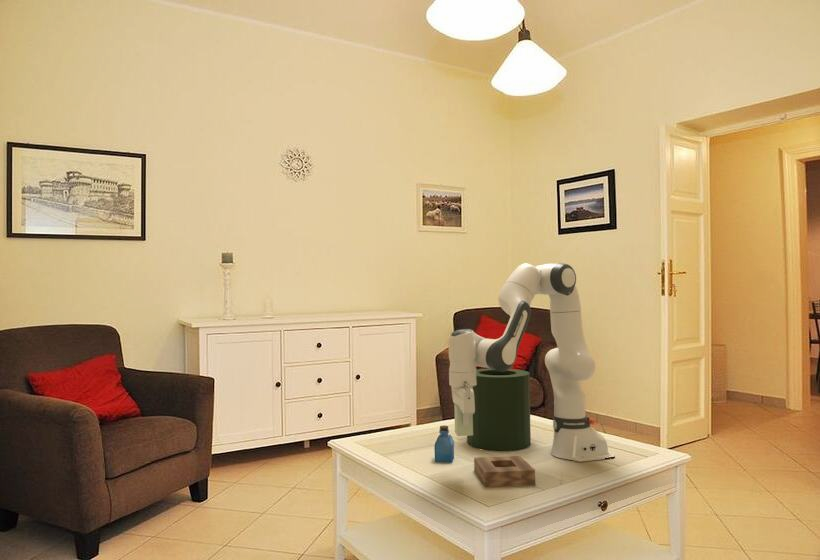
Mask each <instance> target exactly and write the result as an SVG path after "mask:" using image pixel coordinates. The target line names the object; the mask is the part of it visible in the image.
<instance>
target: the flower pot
mask: <svg viewBox="0 0 820 560" xmlns="http://www.w3.org/2000/svg"><path fill="white" fill-rule="evenodd" d="M476 380H477V385H475V386H473V391H474V400H475V413H474V414H473V435H471V436H466V443H467V445H468V446H469V447H471V446H472V447H471V448H473V447H474V449H477V450H480V449H482V450H481V451H485V452H486V451H488V452H499V453H500V452H501V453H502V452H516V451H522V450H525V449H528V448H529V447H530V446H531V444H532V443H531V442H532V441H531V433H532V432H531V395H530V394H531V393H530V392H531V389H530V388H531V387H530V385H531V384H530V383H531V382H530V381H531V380H530V372H529V371H526V370H523V369H515V368H514V369H513V368H510V369H509V370H507V371H504V372H500V371H497V370H493V369H489V368H479V369H478V368H476Z"/></svg>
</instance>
